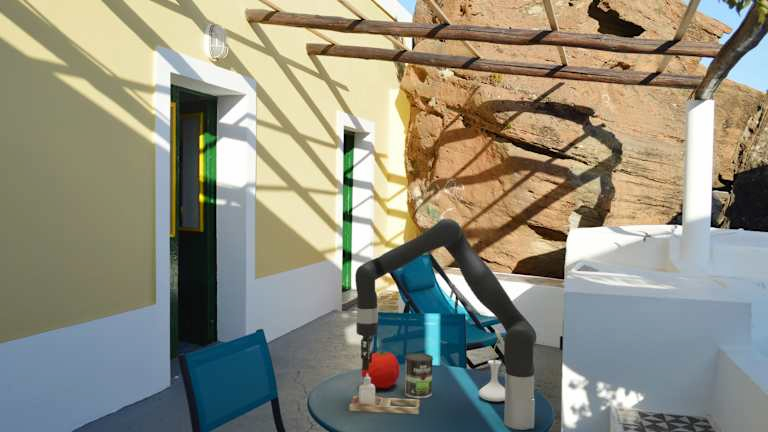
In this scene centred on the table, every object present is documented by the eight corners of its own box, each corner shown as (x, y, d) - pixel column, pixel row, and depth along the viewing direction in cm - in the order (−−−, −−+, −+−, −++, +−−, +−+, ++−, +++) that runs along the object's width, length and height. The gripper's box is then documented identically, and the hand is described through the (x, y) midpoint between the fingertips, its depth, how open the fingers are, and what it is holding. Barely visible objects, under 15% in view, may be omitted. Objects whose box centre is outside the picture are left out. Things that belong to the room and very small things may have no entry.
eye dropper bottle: (372, 410, 211) (373, 376, 210) (357, 408, 213) (357, 374, 212) (376, 405, 215) (376, 372, 215) (361, 404, 217) (361, 371, 216)
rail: (419, 405, 216) (419, 398, 216) (418, 414, 208) (418, 407, 208) (353, 401, 219) (353, 395, 219) (349, 410, 210) (349, 404, 210)
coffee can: (436, 397, 225) (436, 359, 224) (409, 399, 222) (410, 361, 221) (426, 388, 235) (427, 352, 234) (401, 390, 232) (401, 353, 231)
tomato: (390, 379, 244) (391, 345, 243) (406, 390, 232) (406, 354, 231) (354, 384, 238) (355, 350, 237) (368, 396, 225) (368, 359, 224)
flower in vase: (507, 406, 216) (509, 336, 215) (475, 402, 220) (477, 333, 219) (512, 394, 229) (513, 328, 227) (481, 390, 232) (483, 325, 231)
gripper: (375, 325, 205) (375, 372, 206) (380, 316, 219) (380, 360, 220) (353, 324, 206) (353, 372, 206) (359, 315, 220) (359, 360, 221)
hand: (367, 366), depth 213 cm, fingers open, 8 cm apart
